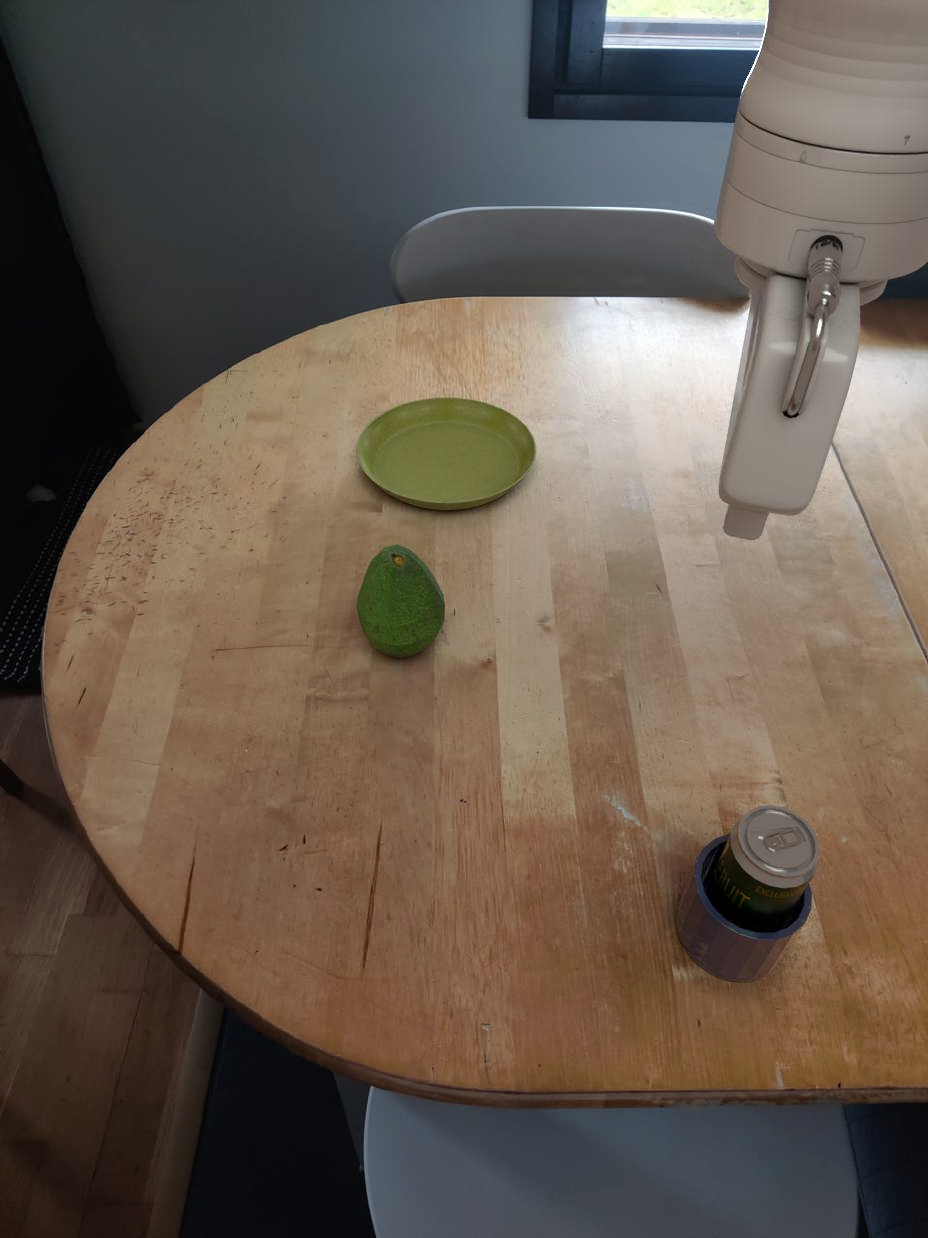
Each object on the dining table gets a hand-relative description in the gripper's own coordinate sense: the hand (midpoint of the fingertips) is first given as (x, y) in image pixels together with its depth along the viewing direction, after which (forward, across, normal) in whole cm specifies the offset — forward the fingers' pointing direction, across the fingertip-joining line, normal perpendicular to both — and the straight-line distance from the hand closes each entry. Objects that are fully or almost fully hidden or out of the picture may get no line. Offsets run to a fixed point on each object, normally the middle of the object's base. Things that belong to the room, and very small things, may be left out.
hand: (749, 473), depth 45 cm
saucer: (+33, +39, +30) cm, 59 cm away
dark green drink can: (+33, -8, -7) cm, 34 cm away
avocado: (+33, +11, +25) cm, 43 cm away
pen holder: (+33, -8, -7) cm, 35 cm away
